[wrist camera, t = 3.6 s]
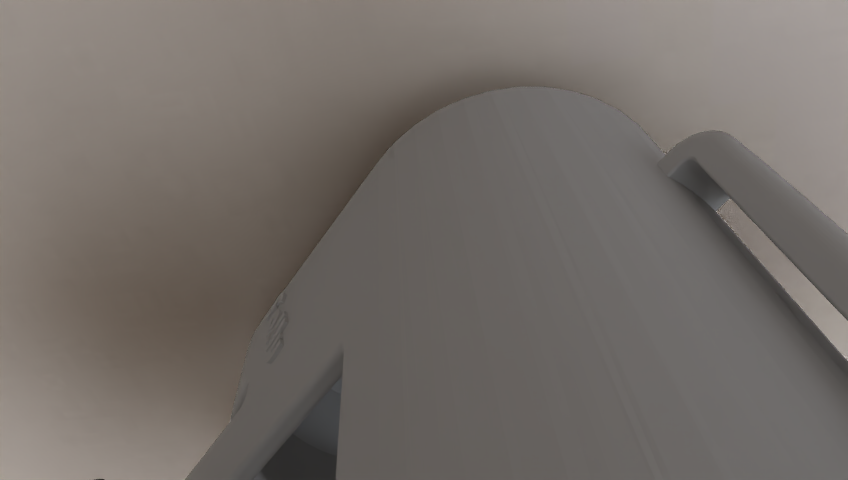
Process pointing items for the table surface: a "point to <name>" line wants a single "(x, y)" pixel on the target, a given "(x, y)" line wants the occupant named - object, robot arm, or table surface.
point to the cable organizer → (548, 314)
